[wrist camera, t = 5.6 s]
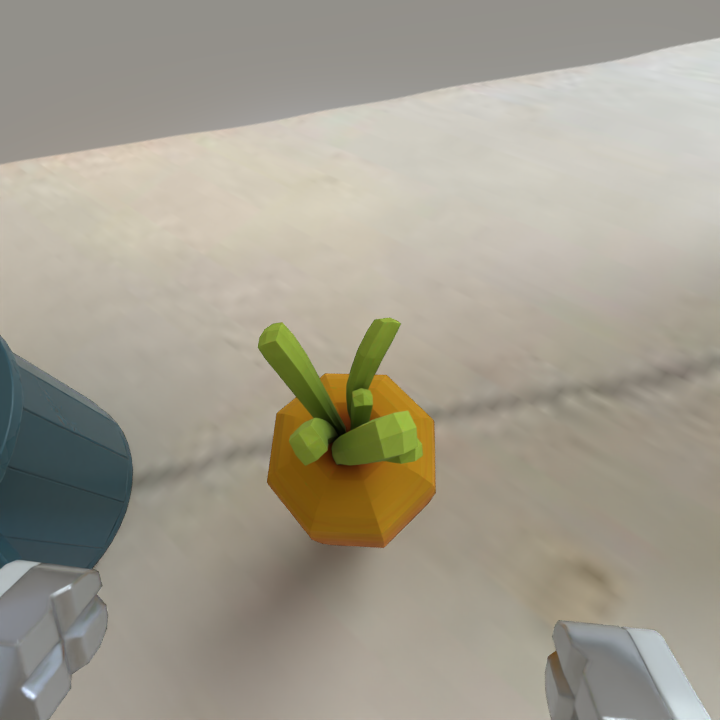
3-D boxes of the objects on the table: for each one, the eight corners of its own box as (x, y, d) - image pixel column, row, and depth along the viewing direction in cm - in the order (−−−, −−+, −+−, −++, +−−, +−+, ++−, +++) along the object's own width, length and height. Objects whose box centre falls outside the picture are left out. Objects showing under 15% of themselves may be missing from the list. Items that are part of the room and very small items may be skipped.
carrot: (303, 476, 23) (178, 317, 9) (397, 442, 23) (408, 244, 10) (334, 581, 20) (230, 574, 7) (437, 541, 21) (522, 463, 8)
